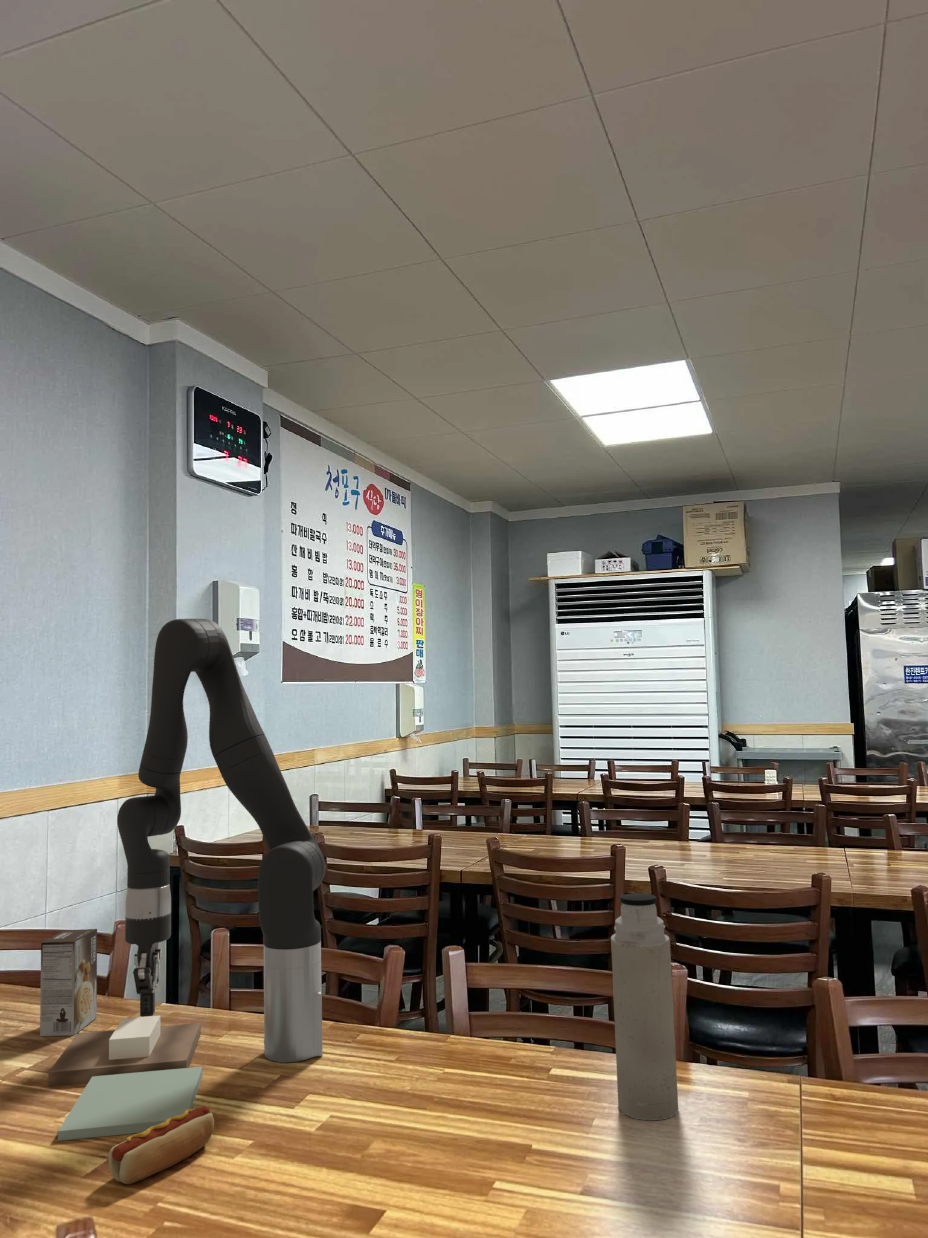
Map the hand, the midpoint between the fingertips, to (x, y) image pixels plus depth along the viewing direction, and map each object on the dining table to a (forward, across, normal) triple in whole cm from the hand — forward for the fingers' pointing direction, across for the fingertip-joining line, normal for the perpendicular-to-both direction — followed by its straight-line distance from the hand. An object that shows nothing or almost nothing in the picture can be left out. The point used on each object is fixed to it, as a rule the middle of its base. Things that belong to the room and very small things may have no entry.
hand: (147, 1015), depth 154 cm
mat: (+4, -28, -4) cm, 29 cm away
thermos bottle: (+4, -45, -73) cm, 86 cm away
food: (+4, -47, -10) cm, 48 cm away
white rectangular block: (+2, -10, 0) cm, 11 cm away
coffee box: (+4, +9, +15) cm, 18 cm away
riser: (+4, -10, +1) cm, 11 cm away
